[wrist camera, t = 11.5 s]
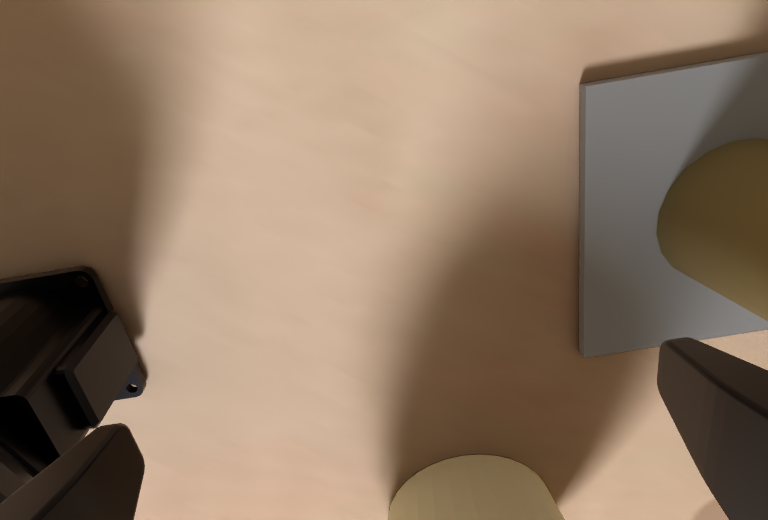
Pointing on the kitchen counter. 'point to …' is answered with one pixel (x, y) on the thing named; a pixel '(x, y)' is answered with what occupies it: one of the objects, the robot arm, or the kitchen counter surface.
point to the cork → (722, 223)
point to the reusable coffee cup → (474, 492)
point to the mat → (654, 198)
